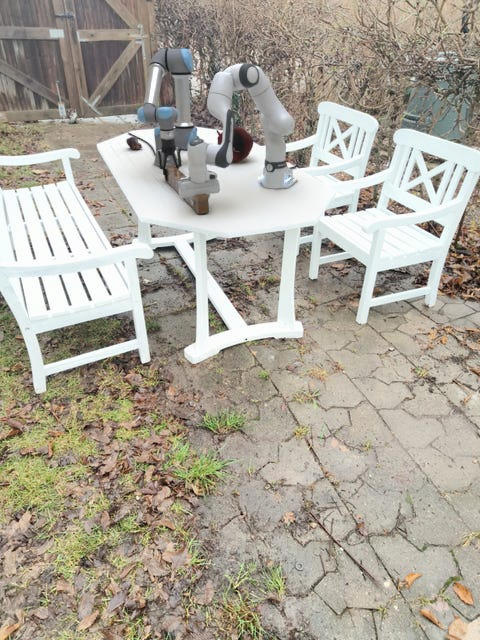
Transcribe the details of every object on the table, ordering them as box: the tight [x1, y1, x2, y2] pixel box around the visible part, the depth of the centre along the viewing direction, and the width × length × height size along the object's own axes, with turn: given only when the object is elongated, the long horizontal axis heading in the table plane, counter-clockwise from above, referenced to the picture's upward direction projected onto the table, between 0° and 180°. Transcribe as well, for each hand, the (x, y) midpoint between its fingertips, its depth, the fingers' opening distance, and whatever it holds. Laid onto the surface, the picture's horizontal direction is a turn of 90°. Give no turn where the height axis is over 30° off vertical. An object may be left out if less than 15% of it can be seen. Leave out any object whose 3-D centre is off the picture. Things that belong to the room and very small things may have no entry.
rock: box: [125, 136, 143, 150], centre depth 324 cm, size 12×9×10 cm
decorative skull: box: [216, 126, 254, 163], centre depth 295 cm, size 21×24×25 cm
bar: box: [163, 164, 210, 215], centre depth 241 cm, size 62×5×8 cm, turn 23°
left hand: (171, 179), depth 262 cm, fingers closed on bar, 5 cm apart
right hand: (200, 203), depth 222 cm, fingers closed on bar, 5 cm apart
